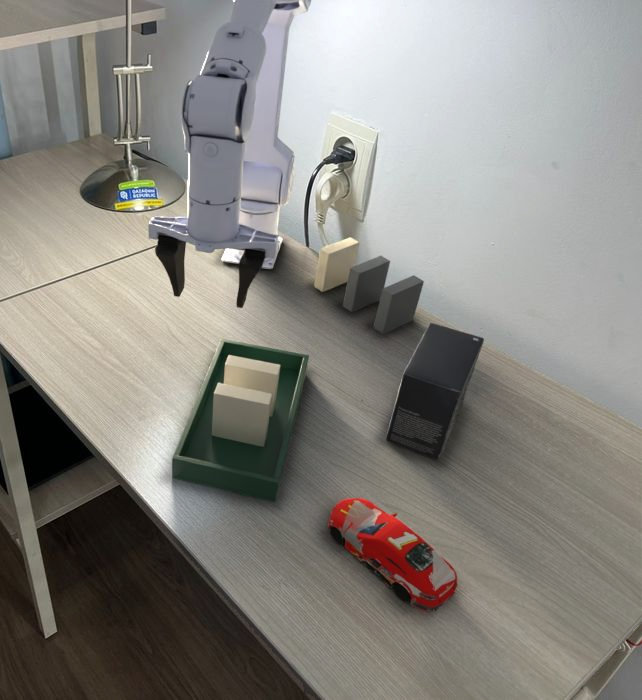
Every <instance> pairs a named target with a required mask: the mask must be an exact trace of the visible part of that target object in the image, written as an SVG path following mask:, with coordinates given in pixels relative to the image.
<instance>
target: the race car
mask: <svg viewBox="0 0 642 700" xmlns="http://www.w3.org/2000/svg"><path fill="white" fill-rule="evenodd" d="M397 515H398V512H394V513H391V514H389V513H388V512H386V511H384V510H382V509H381V508H380V507H378V505H376V504H375V503H373V502H372V501H370V500H368V499H365V498H361V497H353V498H345V499H342V500H341V501H339V502H337V503H336V504H335V505H334V506H333V507H332V509H331V510H330V513H329V517H328V524H327V529H328V531H329V534H330V536H331V538H332V539H333V541H334V542H335V543H337V544H339V545H344V546H343V547H344V548H345V549H346V550H347V551H349V553H350V554H352V555H353V556H354V557H355V558H356V559H357V560H359V561H360V562H361V563H362V564H363V565H364V566H365V567H367V568H368V569H369V570H370V571H371V572H372V573H373V574H374V575H375V576H377V577H378V578H379V579H380V580H381V581H382V582H384V584H386V585H387V586H388V587H390V589H391V588H392V587H393V592H394V594H395V595H396V596H397V597H398V598H399V599H400V600H401V601H403V602H406V603H409V602H410V606H413V607H414V608H415V609H418V610H421V611H424V612H433V611H435V612H437V611H438V610H439V609H440V608H441V607H442V606H444V605H445V604H446V603H447V602H448V601H449V600H450V599H451V598H452V596H454V595H455V594H456V592H455V591H456V590H457V587H458V585H459V584H458V574H457V572H456V569H455V568H454V567H453V566H452V565H451V563H449V561H447V559H445V558H444V557H443V556H442V555H441V554H440V553H438V551H436V549H435V548H433V547H432V545H430V544H429V543H428V542H427V541H426V540H424V538H422V537H421V536H420V535H419V534H418V533H417V532H416V531H414V530H413V529H412V528H410V527H409V526H407V524H405V523H404V522H403V521H402V520H400V519H398V518H397Z"/></svg>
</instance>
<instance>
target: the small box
mask: <svg viewBox="0 0 642 700" xmlns="http://www.w3.org/2000/svg"><path fill="white" fill-rule="evenodd" d="M484 342H485V338H484V337H482V336H478V335H475V334H472V333H469V332H464V331H461V330H458V329H454V328H451V327H447V326H444V325H441V324H438V323H434V322H429V324H428V326H427V327H426V329H425V330H424V333H423V335H422V337H421V339H420V341H419V343H418V345H417V346H416V349H415V350H414V352H413V354H412V356H411V358H410V359H409V362H408V364H407V365H406V367H405V369H404V371H403V374H402V376H401V379H400V383H399V386H398V389H397V390H398V391H397V394H396V397H395V398H396V399H395V402H394V406H393V409H392V412H391V413H392V414H391V417H390V421H389V425H388V429H387V433H386V437H385V441H386V442H388V443H390V444H393V445H396V446H398V447H401V448H404V449H406V450H409V451H411V452H414V453H416V454H419V455H421V456H424V457H427V458H429V459H432V460H434V461H440V459H441V457H442V455H443V453H444V450H445V448H446V445H447V443H448V441H449V438H450V436H451V433H452V431H453V428H454V427H455V424H456V422H457V419H458V417H459V414H460V412H461V409H462V407H463V403H464V400H465V397H466V394H467V391H468V387H469V385H470V381H471V378H472V375H473V373H474V370H475V367H476V364H477V361H478V358H479V356H480V354H481V350H482V348H483V344H484Z"/></svg>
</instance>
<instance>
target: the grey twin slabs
mask: <svg viewBox="0 0 642 700" xmlns="http://www.w3.org/2000/svg"><path fill="white" fill-rule="evenodd" d="M390 264H391V260H390V259H387V258H386V257H384V256H383V255H378V256H376V257H373V258H371V259H368V260H366V261H364V262H361V263H359V264H355V266H353V267H351V268H350V271H349V276H348V281H347V282H346V288H345V292H344V298H343V303H342V307H343V308H345V309H346V310H347V311H348V312H350V313H353V312H356V311H358V310H360V309H362V308H365V307H366V306H369V305H371V304H374V303H377V302H378V301H379V302H378V305H377V310H376V315H375V318H374V323H373V329H375V330H376V331H377V332H379V333H380V334H381V335H385V334H387V333H389V332H391V331H393V330H395V329H397V328H399V327H402V326H403V325H406V324H408V323H411V322H412V321H414V318H415V314H416V312H417V308H418V305H419V301H420V297H421V293H422V290H423V286H424V283H425V281H424V280H423V279H421V278H420V277H418V276H416V275H413V274H412V275H411V276H409V277H405V278H404V279H401V280H400V281H396V282H394V283H392V284H389V285H387V286H385V285H386V281H387V277H388V274H389V273H388V272H389V269H390Z"/></svg>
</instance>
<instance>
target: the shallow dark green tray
mask: <svg viewBox="0 0 642 700" xmlns="http://www.w3.org/2000/svg"><path fill="white" fill-rule="evenodd" d="M228 355H232V356H237V357H242V358H247V359H252V360H258V361H263V362H268V363H273V364H278V365H281V366H280V373H279V380H278V388H277V395H276V403H275V408H274V412H273V416H272V417H271V416H269V423H268V431H267V437H266V441H265V445H264V447H261V446H257V445H252V444H248V443H243V442H239V441H234V440H230V439H225V438H221V437H216V436H212V419H213V401H214V392H215V389H216V387H217V384H218V383H221V384H224V372H225V363H226V361H227V358H228ZM309 359H310V355H309V354H304V353H300V352H294V351H289V350H284V349H279V348H274V347H269V346H263V345H258V344H253V343H248V342H242V341H236V340H231V339H226V338H220V340H219V343H218V345H217V347H216V350H215V352H214V355H213V357H212V360H211V362H210V364H209V367H208V370H207V372H206V374H205V377H204V379H203V381H202V385H201V387H200V389H199V391H198V394H197V397H196V399H195V402H194V404H193V406H192V409H191V411H190V414H189V416H188V419H187V420H186V423H185V426H184V428H183V431H182V433H181V436H180V438H179V441H178V443H177V445H176V448H175V451H174V453H173V454H172V458H171V478H172V479H175V480H180V481H184V482H188V483H193V484H197V485H201V486H205V487H208V488H213V489H218V490H222V491H226V492H230V493H234V494H238V495H243V496H247V497H251V498H255V499H258V500H263V501H268V502H271V503H276V501H277V498H278V494H279V489H280V485H281V481H282V477H283V473H284V469H285V464H286V459H287V456H288V451H289V448H290V443H291V439H292V436H293V435H292V434H293V431H294V426H295V423H296V418H297V413H298V409H299V405H300V400H301V397H302V393H303V388H304V384H305V380H306V375H307V371H308V364H309Z"/></svg>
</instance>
